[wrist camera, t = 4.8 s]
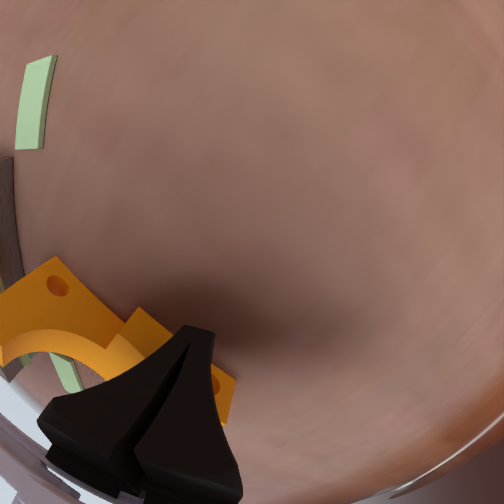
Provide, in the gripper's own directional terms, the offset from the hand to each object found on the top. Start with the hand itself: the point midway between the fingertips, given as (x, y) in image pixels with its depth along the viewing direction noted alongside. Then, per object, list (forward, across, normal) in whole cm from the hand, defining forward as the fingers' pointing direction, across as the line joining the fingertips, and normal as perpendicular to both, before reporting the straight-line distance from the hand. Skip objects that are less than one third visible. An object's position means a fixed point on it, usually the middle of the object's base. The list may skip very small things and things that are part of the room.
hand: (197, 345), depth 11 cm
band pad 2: (+1, +11, +10) cm, 15 cm away
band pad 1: (+1, +11, -10) cm, 15 cm away
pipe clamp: (+2, +4, +2) cm, 5 cm away
